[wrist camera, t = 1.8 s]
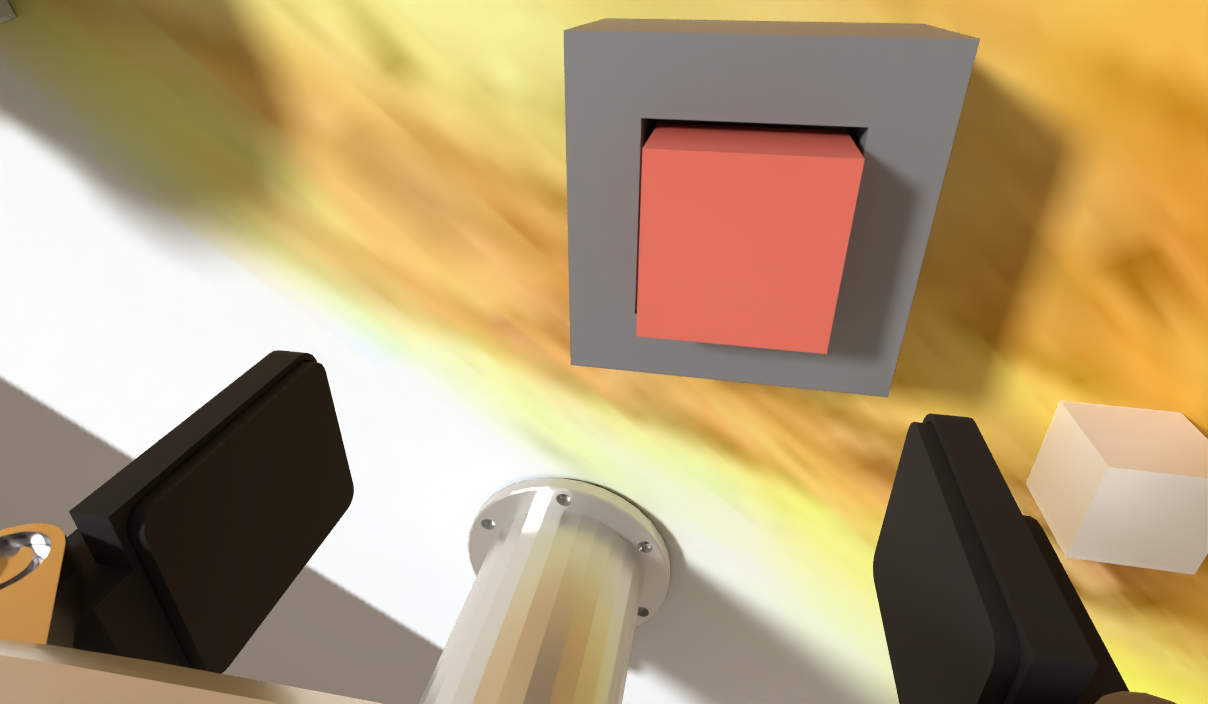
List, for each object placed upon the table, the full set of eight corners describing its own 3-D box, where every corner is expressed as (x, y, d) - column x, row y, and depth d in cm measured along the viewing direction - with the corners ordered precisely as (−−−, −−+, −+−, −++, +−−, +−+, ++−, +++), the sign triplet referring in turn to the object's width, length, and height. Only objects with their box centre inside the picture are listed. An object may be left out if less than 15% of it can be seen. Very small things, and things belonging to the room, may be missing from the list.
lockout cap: (1136, 496, 33) (1194, 574, 28) (1024, 483, 33) (1065, 557, 29) (1180, 411, 30) (1251, 483, 26) (1059, 399, 31) (1109, 467, 27)
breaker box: (860, 314, 31) (887, 397, 25) (603, 293, 32) (570, 364, 26) (923, 24, 25) (979, 39, 19) (605, 18, 27) (563, 30, 21)
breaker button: (815, 302, 25) (826, 353, 21) (651, 288, 26) (636, 336, 22) (846, 130, 22) (864, 159, 18) (658, 122, 23) (642, 148, 19)
